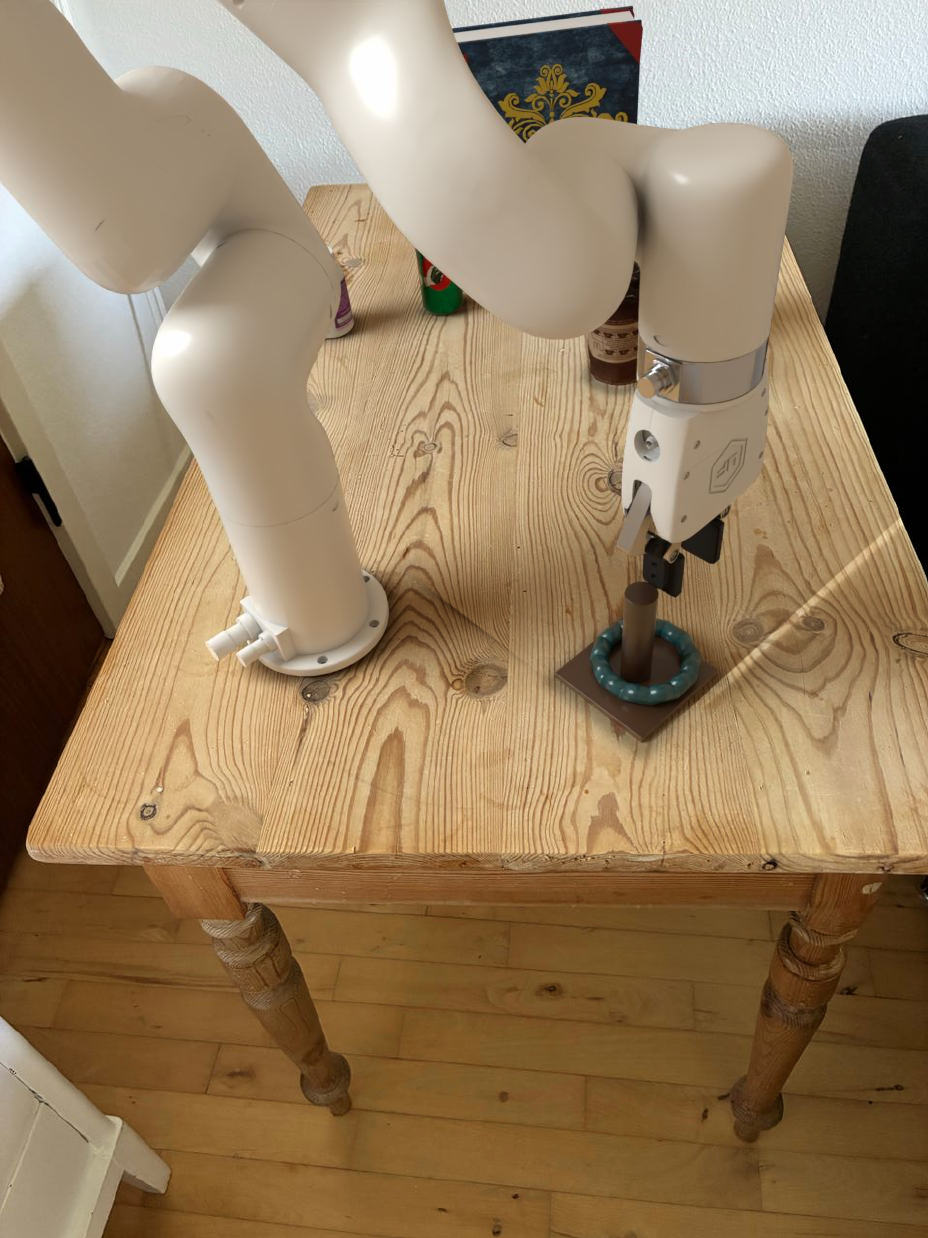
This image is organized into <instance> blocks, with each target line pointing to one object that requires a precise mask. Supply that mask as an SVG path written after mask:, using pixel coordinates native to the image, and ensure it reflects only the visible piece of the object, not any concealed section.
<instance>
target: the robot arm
mask: <svg viewBox="0 0 928 1238" xmlns="http://www.w3.org/2000/svg"><path fill="white" fill-rule="evenodd" d="M216 1H217V2H218V3H219V4H220V5H221V6H222V7H224V9H225V10H227V11H228V12H229V13H230V14H231V15H232V16H234V18H235V19H237V21H239V22H240V24H242V25H243V26H244V27H245V28H247V30H249V31H250V32H251V33H252V34H253V35H254V36H255V37H256V38H257V39H258V40H259V41H260V42H261V43H263V44H264V45H265V46H266V47H267V48H268V49H269V50H271V51H272V52H273V53H274V54H275V55H276V56H277V57H279V59H281V61H283V62H284V63H285V65H287V66H288V67H289V68H291V69H292V70H293V72H295V73H296V75H298V76H299V78H301V79H302V80H303V81H304V82H305V83H306V84H307V85H308V86H309V88H310V89H311V90H312V91H313V93H314V94H315V96H316V97H317V99H318V100H319V102H320V104H321V106H322V107H323V109H324V111H325V114H326V116H327V119H328V120H329V122H330V124H331V126H332V128H333V130H334V132H335V133H336V136H337V137H338V139H339V141H340V143H341V144H342V146H343V147H344V150H345V151H346V153H347V154H348V156H349V157H350V159H351V161H352V162H353V163H354V165H355V167H356V169H357V170H358V171H359V173H360V174H361V175H360V176H362V178H363V180H364V181H365V183H366V184H367V186H368V188H369V189H370V191H371V193H372V194H373V196H374V198H375V199H376V200H377V202H378V203H379V205H380V206H381V208H382V209H383V211H384V212H385V213H386V215H387V216H388V217H389V219H390V220H391V221H392V223H393V224H394V225H395V226H396V228H397V229H398V231H400V233H401V234H402V235H403V236H404V237H405V239H406V240H408V242H409V243H410V244H411V245H412V246H413V248H414V249H415V248H416V249H417V250H418V251H419V252H420V253H421V254H422V255H423V256H424V257H425V258H426V259H427V260H429V261H430V262H431V263H432V264H433V265H434V266H435V267H437V268H438V269H439V270H440V271H441V272H442V273H443V274H444V275H446V276H447V277H448V278H449V279H450V280H451V281H453V282H454V283H455V284H456V285H457V286H458V287H459V288H461V289H462V290H463V293H465V294H466V295H468V296H469V297H470V298H471V299H472V300H473V301H474V302H476V303H477V304H478V305H480V306H481V307H482V308H483V309H485V310H486V311H488V313H490V314H492V315H493V316H494V317H495V318H497V319H498V320H500V321H502V322H503V323H504V324H507V325H509V326H510V327H512V328H513V329H515V330H517V331H519V332H522V333H524V334H527V335H530V336H532V337H535V338H539V339H545V340H551V341H554V340H555V341H557V340H558V341H560V340H561V341H566V340H571V339H576V338H580V337H582V336H585V335H587V333H589V332H592V331H594V330H595V329H597V328H598V327H600V326H601V325H602V324H604V323H605V322H606V321H607V320H608V319H609V318H610V317H611V316H612V315H613V313H614V312H615V311H616V310H617V309H618V307H619V305H620V304H621V302H622V300H623V299H624V297H625V295H626V292H627V290H628V287H629V284H630V281H631V276H632V272H633V266H634V261H636V262H637V263H638V265H639V267H640V293H639V320H638V354H637V382H636V389H635V390H634V394H633V399H632V403H631V407H630V411H629V412H630V413H629V416H628V422H627V429H626V436H625V442H624V450H623V451H624V452H623V459H622V460H623V461H622V469H621V508H622V513H623V516H624V517H625V520H624V523H623V526H622V528H621V530H620V533H619V535H618V538H617V540H616V543H615V548H616V550H619V551H620V552H622V553H624V554H625V555H627V556H629V557H631V558H632V557H633V558H634V557H640V556H642V571H641V573H642V575H641V576H642V579H643V580H644V582H648V583H650V584H652V585H654V586H655V587H656V588H657V590H660V591H662V592H663V593H665V594H667V595H668V596H670V597H672V598H675V599H676V598H677V597H679V596H680V595H681V594H682V593H683V583H684V582H683V581H684V573H685V561H686V556H685V554H683V553H682V552H681V549H683V550H684V551H686V552H687V553H689V554H691V555H692V556H694V557H697V558H698V559H700V560H702V561H703V562H705V563H708V564H710V565H715V564H716V563H717V562H719V561H720V559H721V554H722V546H723V538H724V531H725V524H726V522H725V521H724V519H726V518H727V517H728V515H729V514H730V512H731V509H732V504H733V503H734V502H735V501H736V500H738V499H739V498H740V497H741V496H742V495H743V494H744V493H745V492H746V491H748V490H749V489H750V488H751V487H752V486H753V485H754V484H755V482H756V481H757V480H758V479H759V477H760V475H761V473H762V468H763V463H764V457H765V449H766V444H767V443H766V441H767V432H768V421H769V407H770V375H769V366H768V358H767V353H768V347H769V342H770V334H771V327H772V321H773V316H774V315H773V314H774V309H775V308H774V307H775V301H776V296H777V289H778V283H779V276H780V270H781V263H782V255H783V251H784V249H783V248H784V245H785V244H784V243H785V236H786V232H787V231H786V230H787V223H788V218H789V212H790V211H789V209H790V204H791V197H792V191H793V181H794V173H795V171H794V170H795V168H794V159H793V156H792V155H793V154H792V152H791V150H790V148H789V147H788V145H787V143H786V142H785V141H784V140H783V139H782V138H781V137H780V136H778V135H777V134H776V133H774V132H772V131H771V130H769V129H767V128H763V127H762V126H757V125H753V124H747V123H739V122H710V123H705V124H698V125H694V126H689V127H686V128H682V129H679V128H667V127H660V126H653V125H646V124H639V123H637V124H633V123H627V122H621V121H615V120H609V119H602V118H593V117H572V118H566V119H561V120H557V121H555V122H552V123H550V124H548V125H546V126H544V127H542V128H541V129H539V130H538V131H537V132H536V133H535V134H533V135H532V136H531V137H530V138H529V139H528V140H527V142H526V143H524V142H523V141H522V140H521V139H520V138H519V137H518V136H517V135H516V133H515V132H514V131H513V130H512V129H511V128H510V127H509V125H508V124H507V123H506V122H505V120H504V119H503V118H502V117H501V116H500V114H499V113H498V112H497V111H496V109H495V108H494V106H493V105H492V104H491V102H490V101H489V99H488V98H487V96H486V95H485V94H484V92H483V91H482V89H481V87H480V86H479V84H478V83H477V81H476V79H475V78H474V76H473V74H472V73H471V71H470V69H469V67H468V65H467V63H466V61H465V59H464V57H463V55H462V53H461V51H460V48H459V46H458V43H457V41H456V38H455V36H454V33H453V30H452V28H453V27H452V25H451V21H450V19H449V14H448V11H447V7H446V3H445V0H216ZM0 184H2V186H3V187H4V188H5V189H6V191H7V192H8V193H10V195H11V196H12V197H13V198H14V200H15V201H16V202H17V203H18V204H19V205H20V206H21V207H22V208H23V210H24V212H25V213H27V214H28V215H29V217H30V218H31V219H32V220H33V222H35V224H36V225H37V226H38V227H39V228H40V229H41V230H42V232H43V233H44V234H45V235H46V236H47V237H48V238H49V240H50V241H51V242H52V243H53V244H54V245H55V247H57V249H58V250H59V251H60V252H61V253H62V254H63V255H64V256H65V257H66V258H67V259H68V260H69V261H70V263H71V264H72V265H73V266H74V267H75V268H77V269H78V270H79V271H80V272H81V273H82V274H83V275H84V276H85V277H86V278H87V279H89V280H90V281H92V282H93V283H95V284H96V285H97V286H99V287H101V288H103V289H105V290H107V291H109V292H112V293H116V294H119V295H125V296H128V295H130V296H131V295H141V294H145V293H148V292H150V291H152V290H154V289H155V288H158V287H159V286H161V285H162V284H164V283H166V282H167V281H168V279H169V278H171V277H172V276H173V275H174V274H175V273H176V272H177V271H178V270H179V269H180V268H181V267H182V266H183V265H184V263H185V262H186V261H187V260H188V258H189V257H190V256H191V257H192V258H193V259H194V261H195V263H197V265H198V266H199V269H198V271H196V272H195V273H194V274H193V276H192V277H191V278H190V280H189V281H188V283H187V284H186V286H185V287H184V288H183V290H182V291H181V292H180V294H179V295H178V296H177V298H176V299H175V301H174V303H173V304H172V305H171V307H170V308H169V310H168V312H167V313H166V314H165V316H164V318H163V319H162V322H161V324H160V326H159V328H158V330H157V333H156V336H155V339H154V342H153V347H152V352H151V358H150V360H151V362H150V370H151V377H152V378H151V379H152V384H153V386H154V389H155V392H156V394H157V397H158V398H159V400H160V403H161V404H162V406H163V407H164V409H165V410H166V412H167V414H168V415H169V417H170V419H171V420H172V421H173V423H174V424H175V426H176V427H177V429H178V430H179V432H180V433H181V435H182V436H183V438H184V440H185V442H186V443H187V445H188V447H189V449H190V450H191V452H192V454H193V456H194V458H195V461H196V462H197V465H198V467H199V470H200V472H201V474H202V476H203V479H204V481H205V484H206V486H207V489H208V492H209V494H210V497H211V499H212V502H213V504H214V507H215V508H216V510H217V513H218V516H219V519H220V521H221V524H222V527H223V529H224V531H225V534H226V537H227V540H228V542H229V544H230V547H231V551H232V552H233V555H234V558H235V561H236V563H237V566H238V568H239V571H240V573H241V576H242V579H243V582H244V585H245V588H246V590H247V593H248V595H247V596H246V597H244V598H242V599H240V600H239V603H240V606H241V608H242V611H243V613H242V614H240V615H239V616H238V617H236V618H235V624H233V625H232V626H230V627H229V628H227V629H226V630H222V631H220V632H219V633H217V634H216V635H214V636H213V637H211V638H209V639H208V640H207V641H205V646H206V649H207V650H208V651H209V653H210V654H211V656H212V657H213V658H214V659H215V660H216V662H220V661H222V660H223V659H224V658H226V657H228V656H229V655H231V654H232V653H233V652H235V651H236V650H237V649H238V648H239V647H241V646H242V645H243V644H245V643H247V645H246V646H245V647H243V648H242V649H240V650H239V651H237V652H235V656H236V658H237V659H238V661H239V663H240V664H241V665H242V666H243V667H245V668H247V667H248V666H249V665H250V664H252V663H253V662H255V661H257V660H258V661H259V662H260V663H261V664H262V665H263V666H265V667H266V668H269V669H271V670H273V671H274V672H277V673H281V674H284V675H288V676H294V677H295V676H296V677H316V676H321V675H328V674H331V673H333V672H337V671H339V670H344V669H345V668H347V667H349V666H351V665H353V664H355V663H356V662H358V661H360V660H361V659H362V658H364V657H365V656H367V655H368V654H369V653H370V652H371V651H372V650H373V649H374V648H375V647H376V646H377V644H378V643H379V642H380V640H381V639H382V637H383V636H384V634H385V631H386V629H387V627H388V624H389V619H390V606H389V602H388V597H387V593H386V591H385V589H384V587H383V585H382V584H381V582H379V580H378V579H377V578H376V576H374V575H372V574H371V573H370V572H368V571H366V570H365V569H362V565H361V561H360V557H359V551H358V548H357V544H356V540H355V536H354V531H353V527H352V523H351V520H350V514H349V510H348V507H347V502H346V498H345V494H344V490H343V486H342V482H341V478H340V477H341V476H340V472H339V468H338V467H337V463H336V462H337V461H336V459H335V454H334V450H333V447H332V444H331V442H330V438H329V435H328V433H327V430H326V429H325V427H324V425H323V424H322V423H321V421H320V419H318V417H317V416H316V415H315V413H314V412H313V410H312V409H311V406H310V403H309V399H308V391H307V390H308V383H309V382H308V381H309V377H310V374H311V371H312V369H313V367H314V365H315V363H316V361H317V359H318V356H319V353H320V351H321V349H322V347H323V345H324V343H325V341H326V339H327V338H326V337H327V335H328V333H329V331H330V328H331V326H332V324H333V322H334V320H335V317H336V314H337V311H338V308H339V304H340V297H341V284H340V277H339V273H338V270H337V267H336V264H337V263H336V260H335V261H334V259H333V257H332V254H331V253H330V251H329V249H328V247H327V246H328V245H327V244H326V242H325V240H324V238H323V236H322V235H321V233H320V232H319V230H318V229H317V227H316V226H315V225H314V223H313V221H312V220H311V218H310V217H309V216H308V214H307V212H306V211H305V209H304V208H303V207H302V205H301V203H300V202H299V201H298V199H297V198H296V196H295V194H294V193H293V191H292V190H291V188H290V187H289V186H288V184H287V183H286V182H285V179H284V178H283V177H282V175H281V173H280V172H279V171H278V169H277V168H276V166H275V165H274V164H273V162H272V160H271V159H270V158H269V156H268V155H267V153H266V152H265V150H264V149H263V147H262V146H261V144H260V143H259V142H258V139H256V137H255V135H254V134H253V132H252V131H251V130H250V129H249V127H248V126H247V125H246V123H245V121H244V120H243V118H242V117H241V116H240V115H239V114H238V112H237V111H236V110H235V108H233V107H232V106H231V105H230V104H229V103H228V101H227V99H225V98H224V97H223V96H222V95H221V94H219V93H218V92H217V91H216V90H215V89H214V88H212V87H211V86H210V85H209V84H207V83H206V82H205V81H203V80H201V79H199V78H198V77H196V76H195V75H193V74H190V73H189V72H186V71H184V70H181V69H178V68H175V67H171V66H166V65H143V66H140V67H137V68H134V69H131V70H129V71H127V72H124V73H122V74H121V75H119V76H118V77H116V78H115V79H112V77H111V76H110V75H109V73H108V72H107V71H106V70H105V68H104V67H103V66H102V65H101V64H100V62H99V61H98V60H97V58H96V57H95V56H94V55H93V54H92V52H91V51H90V50H89V48H88V47H87V45H86V44H85V43H84V41H83V39H82V38H81V37H80V35H79V34H78V32H77V31H76V29H75V28H74V26H73V25H72V24H71V23H70V22H69V20H68V19H67V18H66V16H65V15H64V14H63V13H62V12H61V11H60V10H59V9H58V7H57V6H56V5H55V4H54V3H53V2H52V1H51V0H0ZM335 263H336V264H335ZM656 532H657V534H656Z"/></svg>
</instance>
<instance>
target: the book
mask: <svg viewBox="0 0 928 1238" xmlns="http://www.w3.org/2000/svg"><path fill="white" fill-rule="evenodd" d="M635 16H636V15H635V11H634V6H633V5H628V6H618V7H609V8H608V7H607V8H599V9H594V10H586V11H579V12H570V13H562V14H555V15H548V16H547V15H546V16H538V17H532V18H531V17H530V18H524V19H523V18H522V19H516V20H515V19H514V20H507V21H500V22H499V21H498V22H491V23H484V24H483V23H482V24H475V25H467V26H459V27H452V30H453V33H454V36H455V38H456V41H457V43H458V46H459V48H460V51H461V53H462V55H463V57H464V59H465V61H466V63H467V65H468V67H469V69H470V71H471V73H472V74H473V76H474V78H475V79H476V81H477V83H478V84H479V86H480V87H481V89H482V91H483V92H484V94H485V95H486V96H487V98H488V99H489V101H490V102H491V104H492V105H493V106H494V108H495V109H496V111H497V112H498V113H499V114H500V116H501V117H502V118H503V119H504V120H505V122H506V123H507V124H508V125H509V127H510V128H511V129H512V130H513V131H514V132H515V133H516V135H517V136H518V137H519V138H520V139H521V140H522V141H523V142H524V143H526V142H527V140H528V139H529V138H530V137H531V136H532V135H533V134H535V133H536V132H537V131H538V130H539V129H541V128H542V127H544V126H546V125H548V124H550V123H552V122H555V121H557V120H561V119H566V118H572V117H593V118H602V119H609V120H615V121H621V122H627V123H633V124H638V114H639V94H640V73H641V72H640V71H641V54H642V45H643V34H644V27H643V20H642V19H641V18H640V19H635Z"/></svg>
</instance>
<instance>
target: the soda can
mask: <svg viewBox="0 0 928 1238" xmlns="http://www.w3.org/2000/svg"><path fill="white" fill-rule="evenodd" d="M414 250H415V258H416V264H417V273H418V280H419V288H420V295H421V302H422V308H424V309H425V311H427V313H429V314H431V315H433V316H439V317H440V316H449V315H452V314H454V313H456V312H458V311H459V310H460V308H461V307H462V306H463V304H464V302H465V300H464V291H463V290H462V289H461V288H459V287H458V286H457V285H456V284H455V283H454V282H453V281H451V280H450V279H449V278H448V277H447V276H446V275H444V274H443V273H442V272H441V271H440V270H439V269H438V268H437V267H435V266H434V265H433V264H432V263H431V262H430V261H429V260H427V259H426V258H425V257H424V256H423V255H422V254H421V253H420V252H419V251H418V250H417V249H416V248H415V247H414Z"/></svg>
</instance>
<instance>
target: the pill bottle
mask: <svg viewBox="0 0 928 1238" xmlns="http://www.w3.org/2000/svg"><path fill="white" fill-rule="evenodd" d="M327 247H328V249H329V251H330V253H331V254H332V257H333V259H334V261H335V264H336V267H337V270H338V273H339V277H340V284H341V297H340V304H339V308H338V311H337V314H336V317H335V320H334V322H333V324H332V326H331V328H330V331H329V333H328V335H327V337H326V339H336V338H340V337H342V336H344V335H346V334H348V333H350V331H351V330H352V329H353V327H354V325H355V319H354V315H353V309H352V305H351V300H350V299H351V298H350V295H349V290H348V286H347V281H346V275H345V272H344V270H343V268H342V267H341V266H340V264H338V263H336V256H335V252H334V249H333V248H332V247H331V246H329V245H327Z"/></svg>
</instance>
